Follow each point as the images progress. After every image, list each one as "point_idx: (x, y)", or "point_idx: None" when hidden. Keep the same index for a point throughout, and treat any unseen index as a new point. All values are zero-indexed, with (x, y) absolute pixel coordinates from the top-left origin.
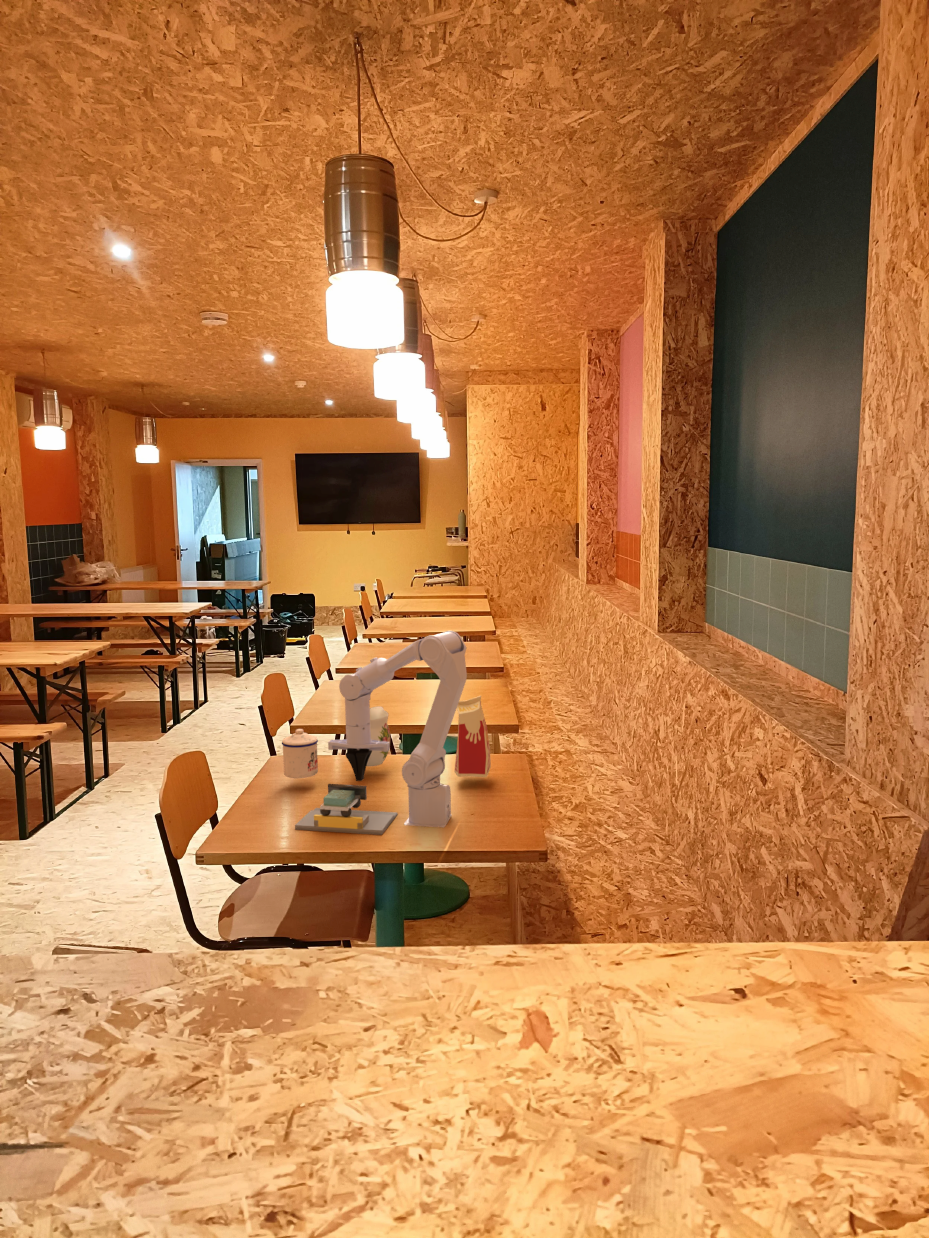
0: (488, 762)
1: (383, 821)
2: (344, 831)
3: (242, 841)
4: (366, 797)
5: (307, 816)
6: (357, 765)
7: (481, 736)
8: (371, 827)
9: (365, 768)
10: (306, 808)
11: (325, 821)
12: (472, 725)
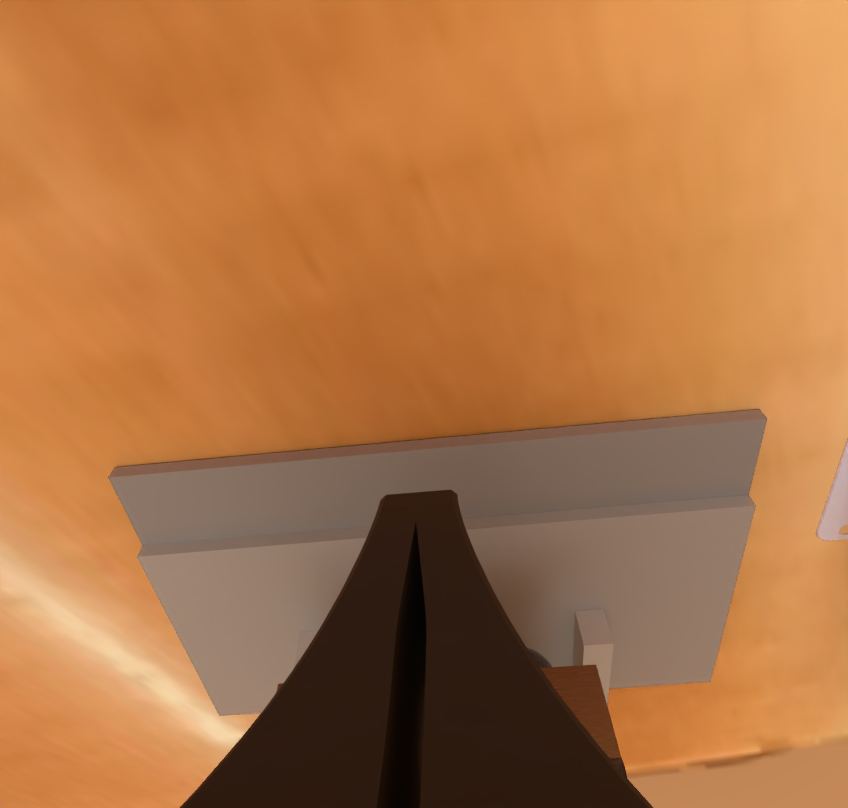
0: None
1: (698, 597)
2: None
3: (107, 796)
4: (599, 679)
5: (196, 631)
6: (416, 755)
7: None
8: (643, 666)
9: (487, 585)
10: (26, 458)
11: None
12: None
